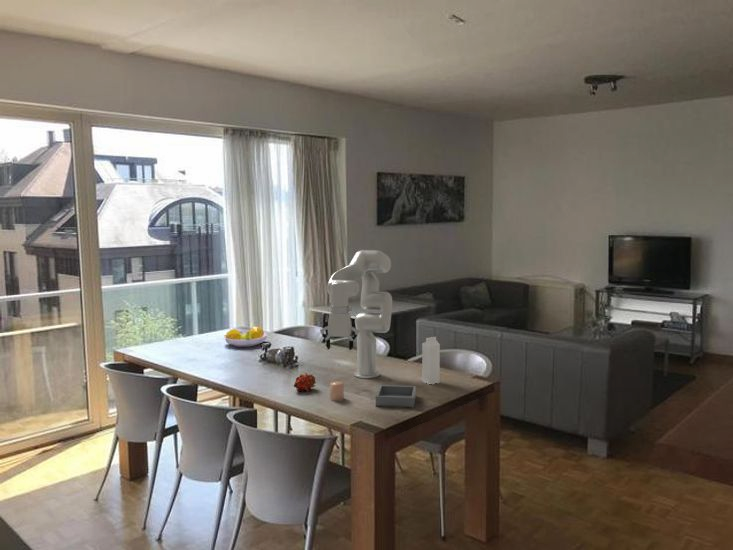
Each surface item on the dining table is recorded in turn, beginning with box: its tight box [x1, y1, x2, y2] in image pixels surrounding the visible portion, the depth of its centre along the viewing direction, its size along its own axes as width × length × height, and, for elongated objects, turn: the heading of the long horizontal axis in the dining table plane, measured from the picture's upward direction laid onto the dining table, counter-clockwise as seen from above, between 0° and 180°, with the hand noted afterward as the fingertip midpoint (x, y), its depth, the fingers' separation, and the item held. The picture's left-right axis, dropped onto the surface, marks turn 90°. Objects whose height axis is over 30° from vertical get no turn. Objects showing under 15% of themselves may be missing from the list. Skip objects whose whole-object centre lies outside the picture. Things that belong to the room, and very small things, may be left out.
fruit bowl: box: [223, 326, 268, 348], centre depth 363 cm, size 28×27×11 cm
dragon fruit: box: [293, 372, 316, 392], centre depth 272 cm, size 8×8×12 cm
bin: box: [375, 384, 417, 408], centre depth 256 cm, size 16×16×4 cm
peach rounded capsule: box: [329, 381, 345, 402], centre depth 260 cm, size 6×6×7 cm
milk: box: [421, 336, 441, 385], centre depth 282 cm, size 6×6×22 cm
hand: (339, 349), depth 259 cm, fingers open, 9 cm apart
